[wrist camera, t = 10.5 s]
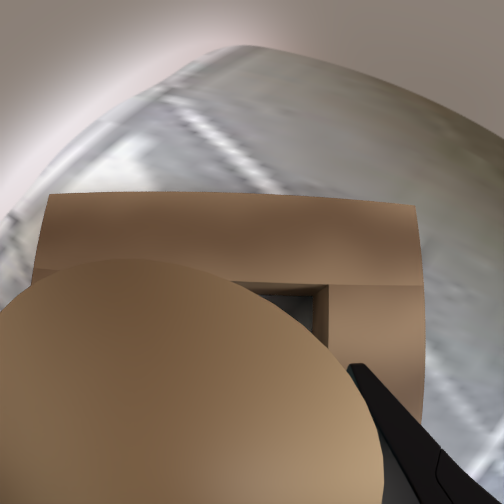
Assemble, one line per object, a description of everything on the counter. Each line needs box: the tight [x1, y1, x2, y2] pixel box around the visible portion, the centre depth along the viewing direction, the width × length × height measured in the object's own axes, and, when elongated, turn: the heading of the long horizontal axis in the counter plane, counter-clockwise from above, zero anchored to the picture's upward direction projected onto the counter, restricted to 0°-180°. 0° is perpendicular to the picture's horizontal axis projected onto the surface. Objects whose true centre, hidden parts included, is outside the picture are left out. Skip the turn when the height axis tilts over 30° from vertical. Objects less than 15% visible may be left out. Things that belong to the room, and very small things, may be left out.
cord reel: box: [0, 259, 384, 504], centre depth 9 cm, size 6×6×13 cm
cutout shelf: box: [31, 192, 425, 425], centre depth 14 cm, size 15×19×4 cm
